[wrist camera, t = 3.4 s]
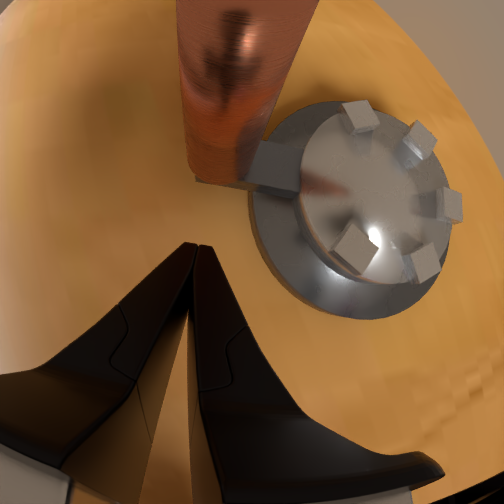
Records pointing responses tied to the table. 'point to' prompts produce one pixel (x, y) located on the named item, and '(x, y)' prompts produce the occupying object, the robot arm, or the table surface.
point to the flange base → (301, 255)
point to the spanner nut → (310, 146)
